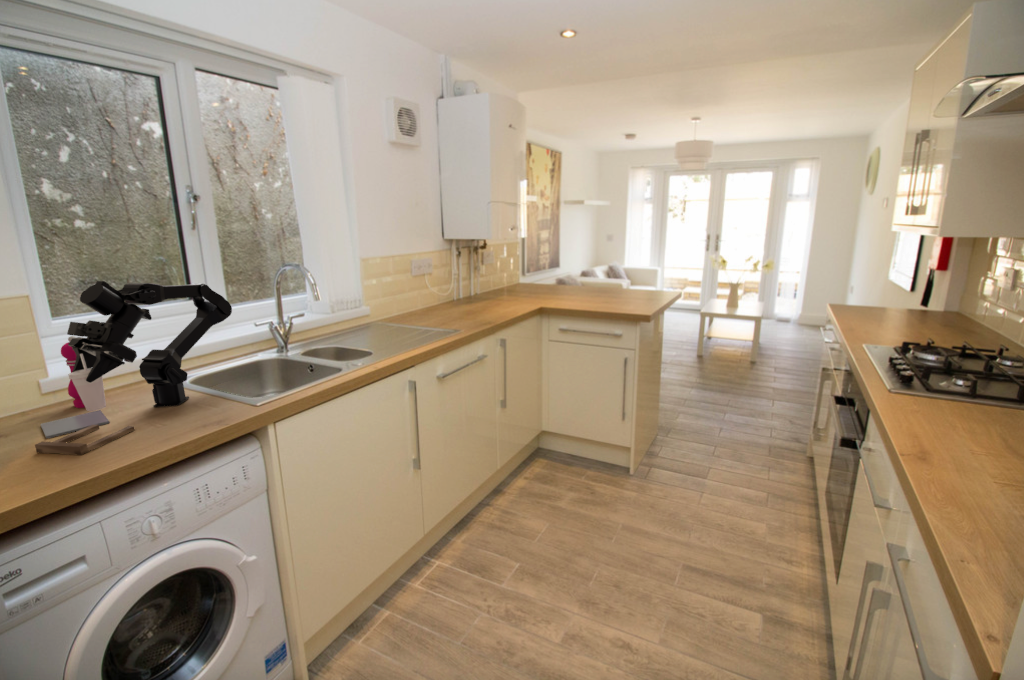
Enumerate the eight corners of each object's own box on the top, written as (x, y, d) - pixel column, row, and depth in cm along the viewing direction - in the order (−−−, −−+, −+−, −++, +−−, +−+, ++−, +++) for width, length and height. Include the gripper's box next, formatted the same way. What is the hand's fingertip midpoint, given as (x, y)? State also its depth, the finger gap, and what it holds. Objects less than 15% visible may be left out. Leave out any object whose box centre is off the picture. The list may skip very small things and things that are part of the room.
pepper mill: (78, 410, 135) (59, 340, 130) (67, 406, 139) (49, 337, 134) (109, 402, 141) (93, 334, 136) (98, 397, 145) (82, 332, 140)
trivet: (100, 411, 134) (100, 409, 133) (109, 423, 126) (109, 420, 126) (40, 425, 125) (40, 423, 125) (46, 438, 117) (45, 436, 117)
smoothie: (86, 414, 117) (69, 358, 113) (74, 411, 120) (57, 356, 116) (117, 405, 122) (102, 350, 119) (105, 402, 125) (90, 349, 122)
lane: (93, 428, 123) (92, 420, 122) (134, 430, 121) (132, 422, 121) (36, 452, 110) (34, 444, 109) (81, 455, 108) (79, 446, 108)
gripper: (67, 305, 122) (23, 361, 115) (110, 309, 114) (65, 368, 107) (111, 329, 131) (73, 381, 124) (153, 333, 123) (115, 390, 116)
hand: (80, 380), depth 118 cm, fingers closed on smoothie, 6 cm apart
